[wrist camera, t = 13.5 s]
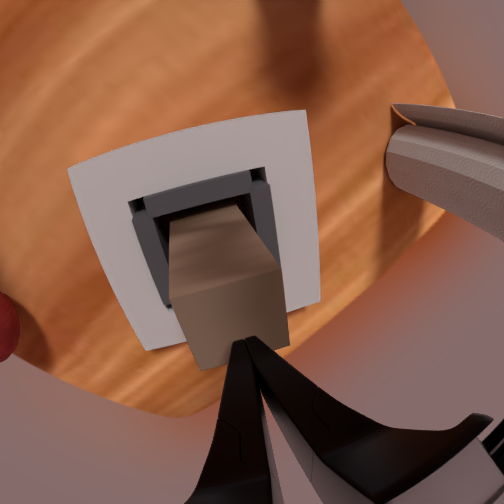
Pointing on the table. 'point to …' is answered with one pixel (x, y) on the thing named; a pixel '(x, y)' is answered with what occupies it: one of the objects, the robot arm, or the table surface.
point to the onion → (8, 327)
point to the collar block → (197, 193)
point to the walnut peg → (223, 282)
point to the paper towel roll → (452, 162)
